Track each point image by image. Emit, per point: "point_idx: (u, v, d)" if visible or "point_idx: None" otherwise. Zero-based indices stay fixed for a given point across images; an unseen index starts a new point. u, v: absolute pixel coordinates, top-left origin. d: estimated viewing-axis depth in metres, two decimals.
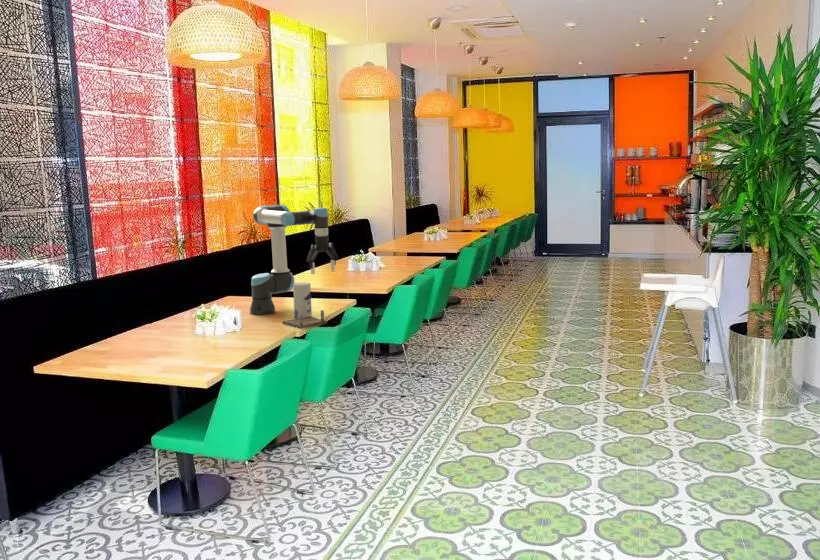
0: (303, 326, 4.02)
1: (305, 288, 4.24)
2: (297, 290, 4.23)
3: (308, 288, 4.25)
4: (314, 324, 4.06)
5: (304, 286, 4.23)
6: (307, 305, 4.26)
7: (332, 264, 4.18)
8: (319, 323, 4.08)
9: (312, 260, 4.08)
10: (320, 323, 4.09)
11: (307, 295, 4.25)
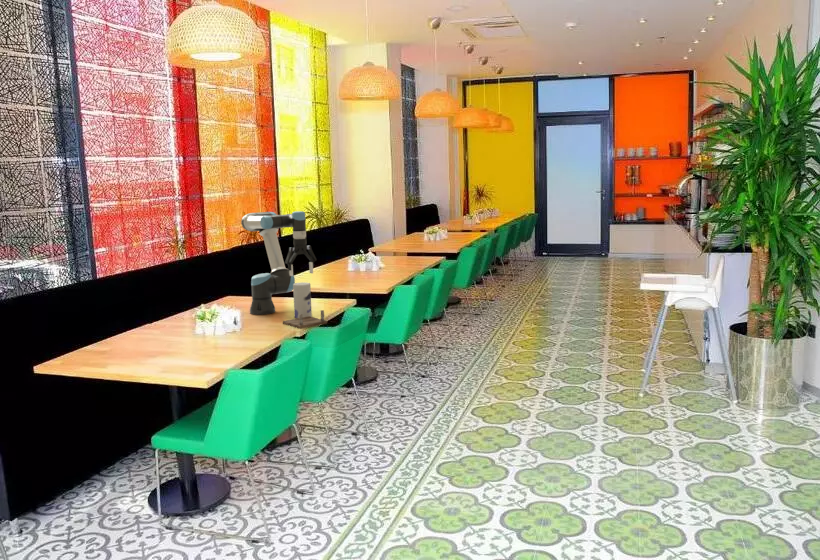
0: (303, 326, 4.02)
1: (305, 288, 4.24)
2: (297, 290, 4.23)
3: (308, 288, 4.25)
4: (314, 324, 4.06)
5: (304, 286, 4.23)
6: (307, 305, 4.26)
7: (310, 266, 4.30)
8: (319, 323, 4.08)
9: (290, 262, 4.19)
10: (320, 323, 4.09)
11: (307, 295, 4.25)
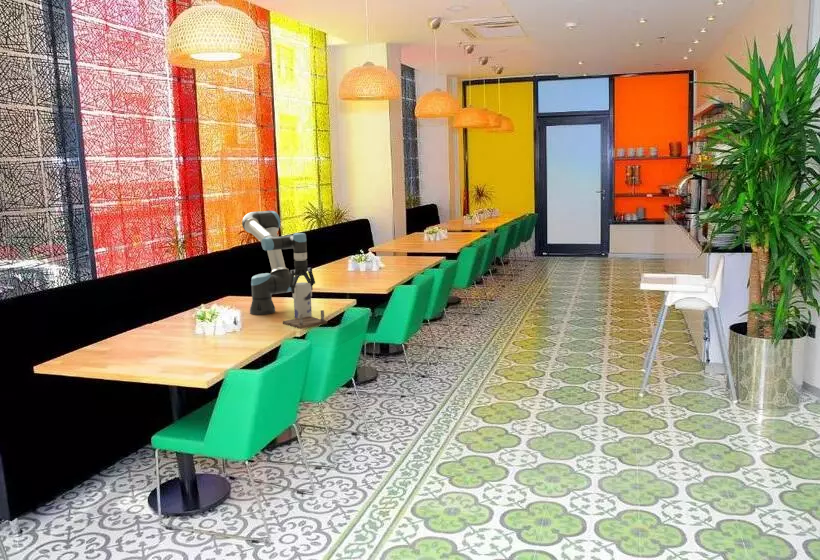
0: (303, 326, 4.02)
1: (305, 288, 4.24)
2: (297, 290, 4.23)
3: (308, 288, 4.25)
4: (314, 324, 4.06)
5: (304, 286, 4.23)
6: (307, 305, 4.26)
7: None
8: (319, 323, 4.08)
9: (293, 285, 4.23)
10: (320, 323, 4.09)
11: (307, 295, 4.25)
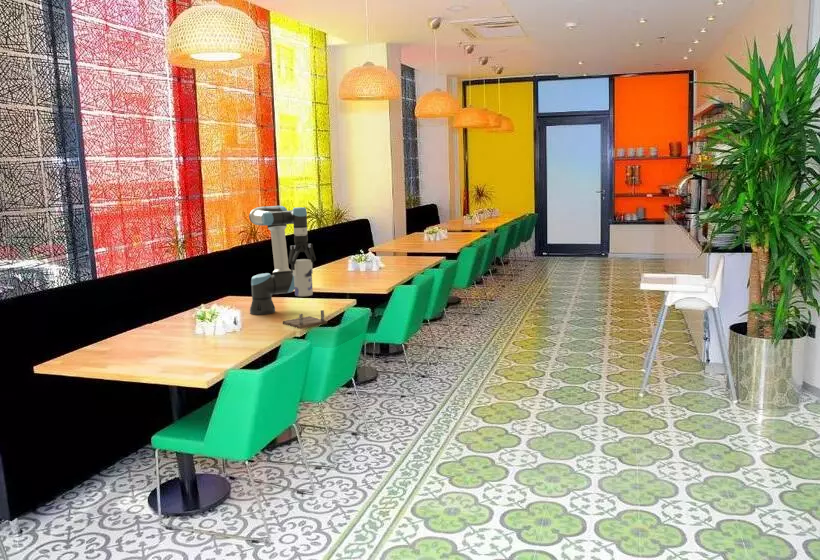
0: (303, 326, 4.02)
1: (306, 264, 4.07)
2: (298, 266, 4.07)
3: (309, 264, 4.09)
4: (314, 324, 4.06)
5: (305, 262, 4.07)
6: (308, 282, 4.09)
7: None
8: (319, 323, 4.08)
9: (293, 261, 4.06)
10: (320, 323, 4.09)
11: (308, 272, 4.08)
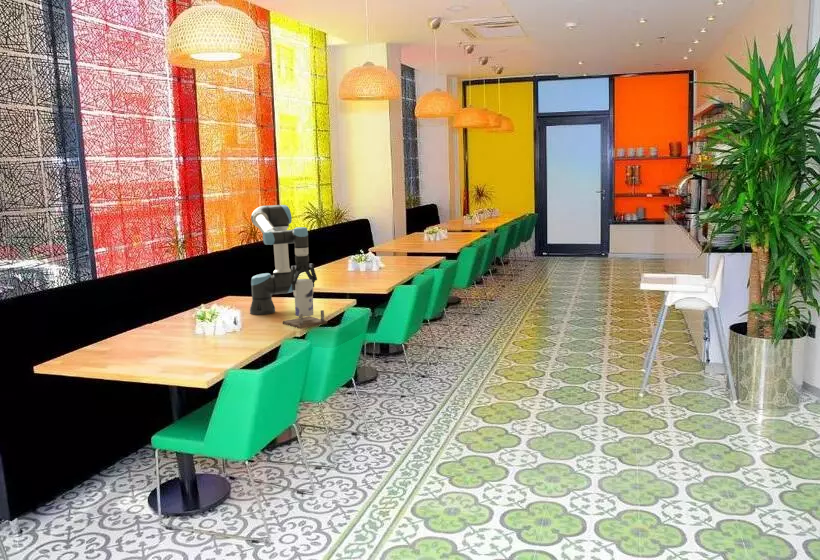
0: (303, 326, 4.02)
1: (306, 285, 4.05)
2: (299, 286, 4.05)
3: (310, 285, 4.07)
4: (314, 324, 4.06)
5: (305, 283, 4.05)
6: (309, 303, 4.07)
7: None
8: (319, 323, 4.08)
9: (294, 282, 4.04)
10: (320, 323, 4.09)
11: (309, 292, 4.07)
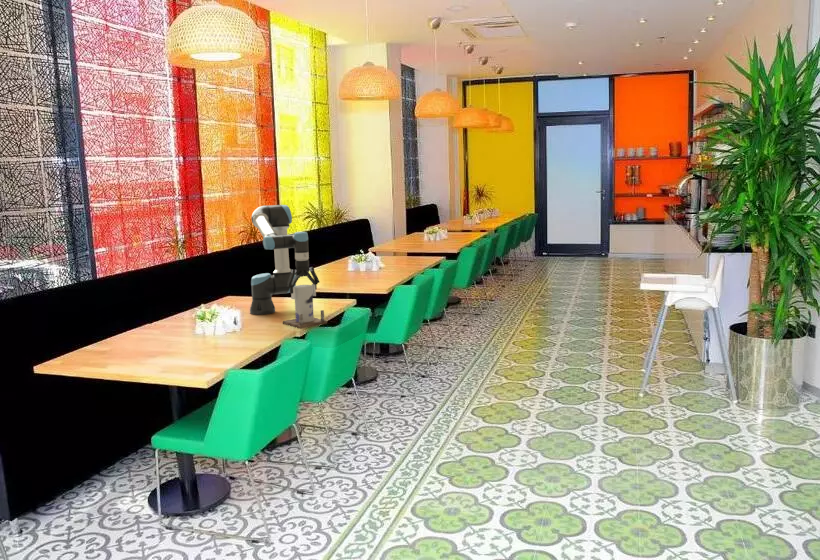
0: (303, 326, 4.02)
1: (307, 291, 4.06)
2: (299, 292, 4.05)
3: (310, 291, 4.07)
4: (314, 324, 4.06)
5: (306, 289, 4.05)
6: (309, 309, 4.08)
7: (313, 288, 4.14)
8: (319, 323, 4.08)
9: (292, 285, 4.03)
10: (320, 323, 4.09)
11: (309, 298, 4.07)
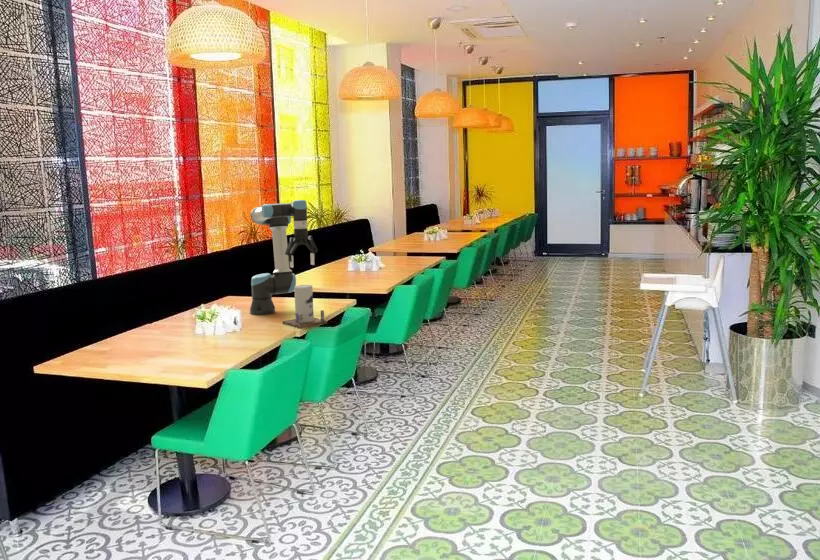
0: (303, 326, 4.02)
1: (307, 291, 4.06)
2: (299, 292, 4.05)
3: (310, 291, 4.07)
4: (314, 324, 4.06)
5: (306, 289, 4.05)
6: (309, 309, 4.08)
7: (312, 257, 4.12)
8: (319, 323, 4.08)
9: (291, 253, 4.01)
10: (320, 323, 4.09)
11: (309, 298, 4.07)
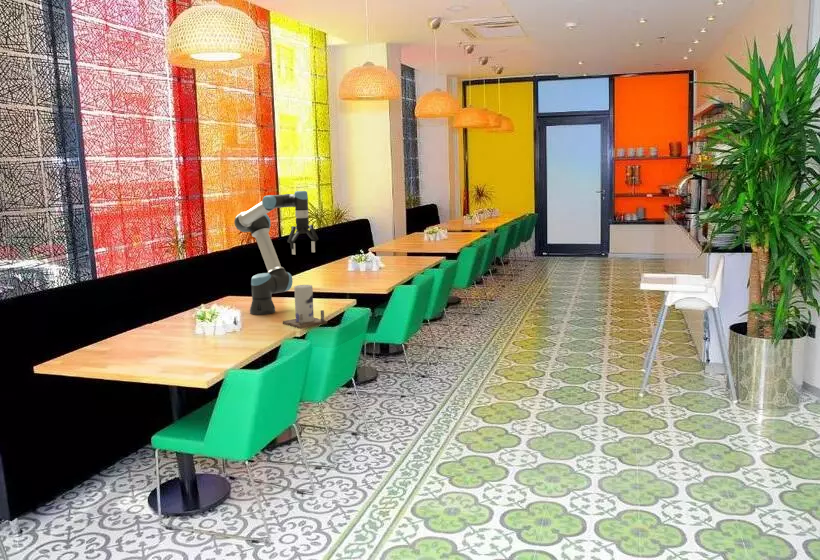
0: (303, 326, 4.02)
1: (307, 291, 4.06)
2: (299, 292, 4.05)
3: (310, 291, 4.07)
4: (314, 324, 4.06)
5: (306, 289, 4.05)
6: (309, 309, 4.08)
7: (312, 245, 4.36)
8: (319, 323, 4.08)
9: (293, 241, 4.26)
10: (320, 323, 4.09)
11: (309, 298, 4.07)
